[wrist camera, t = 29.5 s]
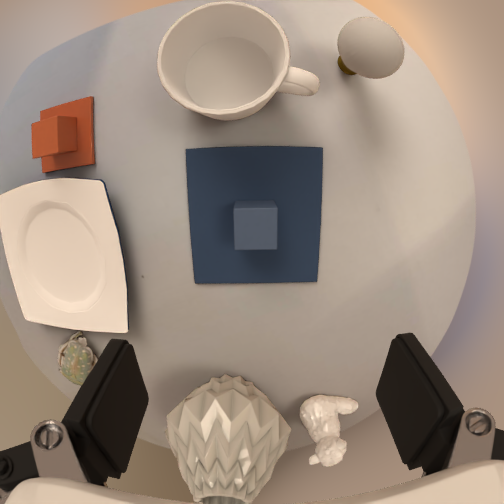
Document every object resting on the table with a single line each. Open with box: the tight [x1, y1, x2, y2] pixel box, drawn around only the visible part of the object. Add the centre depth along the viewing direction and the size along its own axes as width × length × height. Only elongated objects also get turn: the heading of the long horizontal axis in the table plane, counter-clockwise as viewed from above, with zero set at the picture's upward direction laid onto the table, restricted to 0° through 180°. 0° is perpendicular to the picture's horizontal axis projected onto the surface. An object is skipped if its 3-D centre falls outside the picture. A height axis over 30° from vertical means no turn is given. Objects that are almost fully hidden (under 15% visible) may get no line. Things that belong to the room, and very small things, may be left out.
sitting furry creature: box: [299, 394, 358, 467], centre depth 36 cm, size 10×9×12 cm
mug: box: [157, 1, 320, 121], centre depth 23 cm, size 13×10×8 cm
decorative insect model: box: [58, 330, 97, 386], centre depth 37 cm, size 9×11×5 cm
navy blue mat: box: [186, 146, 323, 283], centre depth 31 cm, size 15×14×1 cm
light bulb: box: [338, 17, 404, 79], centre depth 21 cm, size 6×6×10 cm
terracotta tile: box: [40, 96, 95, 173], centre depth 28 cm, size 8×8×1 cm
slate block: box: [233, 200, 278, 250], centre depth 29 cm, size 4×4×4 cm
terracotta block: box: [32, 116, 77, 159], centre depth 26 cm, size 4×4×4 cm
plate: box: [0, 177, 129, 333], centre depth 32 cm, size 20×20×3 cm
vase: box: [165, 374, 291, 504], centre depth 32 cm, size 16×16×18 cm
